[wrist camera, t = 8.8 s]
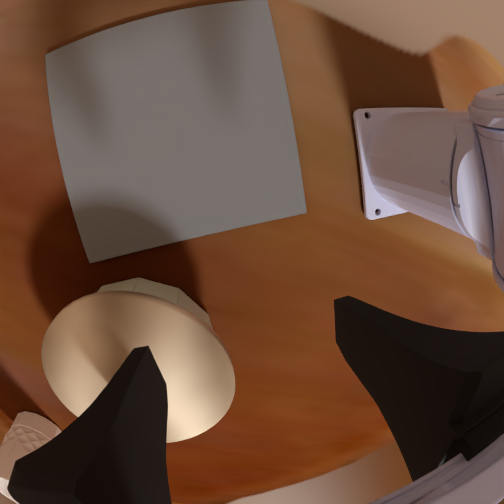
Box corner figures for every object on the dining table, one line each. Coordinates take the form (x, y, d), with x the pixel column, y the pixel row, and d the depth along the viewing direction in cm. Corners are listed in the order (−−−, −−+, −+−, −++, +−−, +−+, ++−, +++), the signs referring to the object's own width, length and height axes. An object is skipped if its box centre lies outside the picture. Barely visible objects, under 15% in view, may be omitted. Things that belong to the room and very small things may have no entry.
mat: (265, 2, 15) (266, -1, 15) (303, 210, 21) (306, 212, 20) (48, 56, 14) (44, 54, 13) (92, 260, 19) (89, 263, 19)
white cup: (5, 418, 23) (-20, 479, 14) (26, 397, 23) (-4, 469, 13) (55, 455, 26) (40, 516, 17) (83, 439, 25) (68, 512, 16)
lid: (207, 268, 16) (211, 316, 12) (249, 421, 21) (261, 471, 16) (15, 309, 15) (-20, 352, 11) (97, 439, 20) (88, 484, 15)
